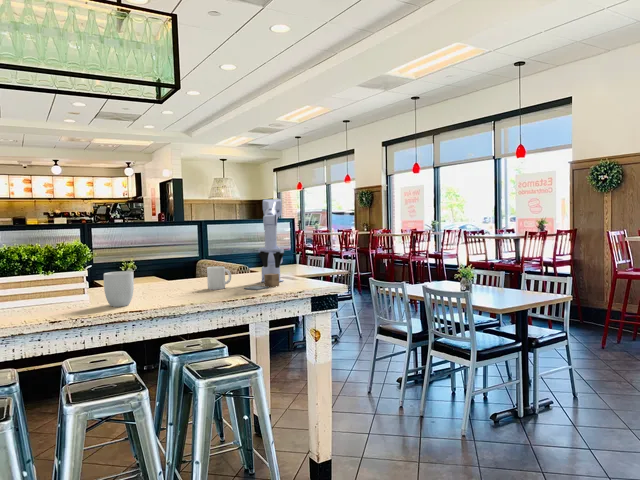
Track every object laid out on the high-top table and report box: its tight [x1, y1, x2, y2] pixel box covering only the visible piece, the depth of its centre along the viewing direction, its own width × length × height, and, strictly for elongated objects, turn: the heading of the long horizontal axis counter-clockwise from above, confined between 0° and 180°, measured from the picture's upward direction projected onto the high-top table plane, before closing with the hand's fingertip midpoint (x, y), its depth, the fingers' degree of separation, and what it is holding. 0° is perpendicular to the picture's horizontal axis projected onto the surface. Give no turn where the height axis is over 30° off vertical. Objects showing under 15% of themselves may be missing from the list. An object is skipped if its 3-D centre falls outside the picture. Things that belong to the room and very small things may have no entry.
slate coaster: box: [244, 285, 269, 291], centre depth 230 cm, size 8×8×1 cm
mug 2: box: [206, 265, 232, 291], centre depth 234 cm, size 12×8×10 cm
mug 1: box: [103, 270, 135, 308], centre depth 194 cm, size 15×11×13 cm
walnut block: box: [264, 273, 280, 288], centre depth 236 cm, size 5×5×6 cm
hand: (271, 267), depth 236 cm, fingers open, 7 cm apart
